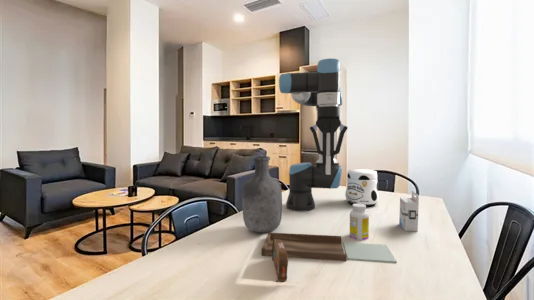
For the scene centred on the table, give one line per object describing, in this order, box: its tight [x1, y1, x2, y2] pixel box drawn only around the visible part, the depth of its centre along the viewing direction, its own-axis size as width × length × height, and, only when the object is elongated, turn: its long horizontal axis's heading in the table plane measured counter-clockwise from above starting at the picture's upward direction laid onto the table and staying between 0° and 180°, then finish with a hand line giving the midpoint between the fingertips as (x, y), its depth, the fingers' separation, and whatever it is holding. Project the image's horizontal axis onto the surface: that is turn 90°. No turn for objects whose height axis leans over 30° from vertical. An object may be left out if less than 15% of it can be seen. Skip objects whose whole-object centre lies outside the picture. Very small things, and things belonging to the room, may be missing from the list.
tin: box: [271, 239, 289, 282], centre depth 77 cm, size 15×3×8 cm, turn 5°
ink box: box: [398, 190, 420, 232], centre depth 112 cm, size 9×5×15 cm, turn 168°
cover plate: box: [343, 241, 398, 264], centre depth 88 cm, size 12×14×2 cm
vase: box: [241, 155, 283, 234], centre depth 110 cm, size 16×16×30 cm
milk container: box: [344, 168, 380, 207], centre depth 149 cm, size 17×17×18 cm
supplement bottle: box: [349, 204, 370, 241], centre depth 101 cm, size 7×7×13 cm
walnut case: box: [260, 232, 348, 262], centre depth 91 cm, size 15×26×3 cm, turn 81°
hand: (328, 173), depth 96 cm, fingers closed
